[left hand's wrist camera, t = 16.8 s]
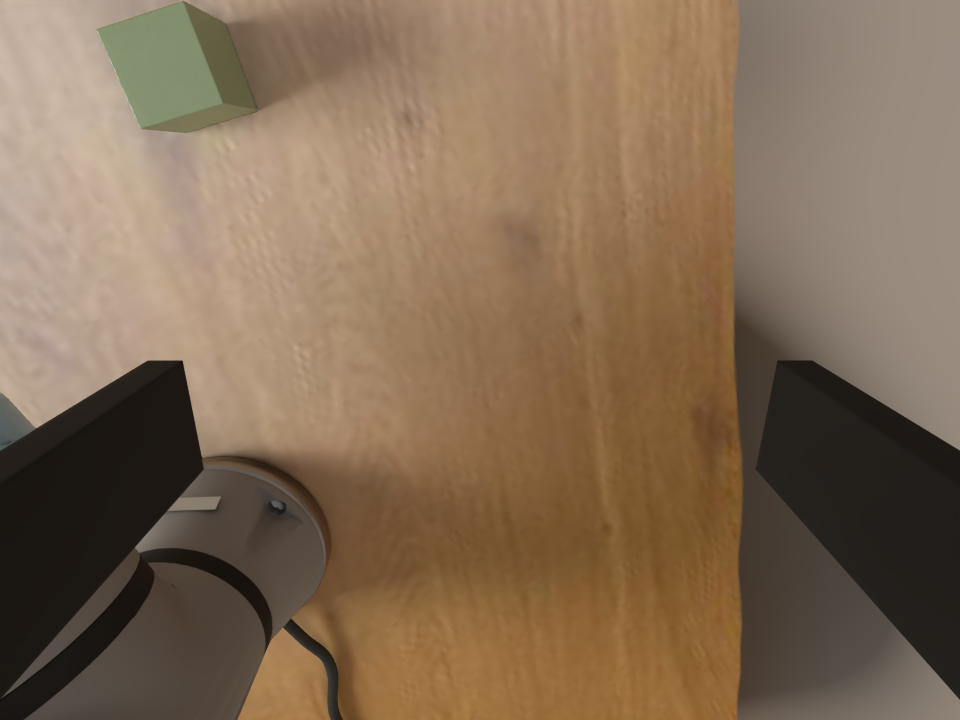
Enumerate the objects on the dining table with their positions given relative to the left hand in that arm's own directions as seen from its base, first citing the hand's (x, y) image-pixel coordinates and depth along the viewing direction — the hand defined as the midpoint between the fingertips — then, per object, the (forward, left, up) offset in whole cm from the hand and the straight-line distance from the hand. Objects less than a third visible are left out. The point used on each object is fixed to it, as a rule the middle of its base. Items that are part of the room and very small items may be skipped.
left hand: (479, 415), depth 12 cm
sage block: (+10, +17, -27) cm, 33 cm away
